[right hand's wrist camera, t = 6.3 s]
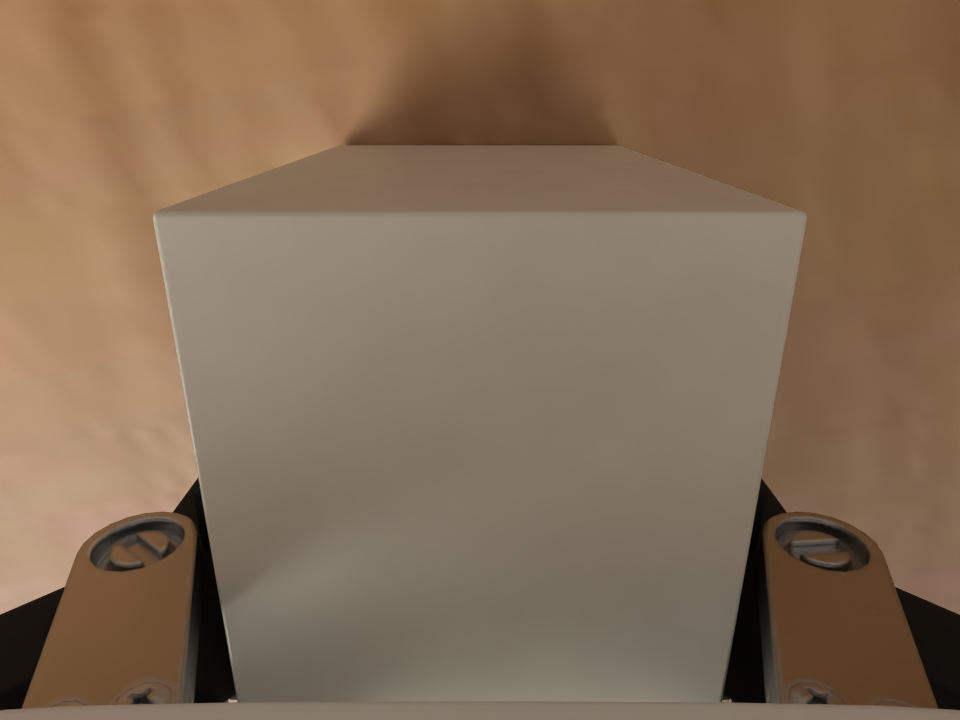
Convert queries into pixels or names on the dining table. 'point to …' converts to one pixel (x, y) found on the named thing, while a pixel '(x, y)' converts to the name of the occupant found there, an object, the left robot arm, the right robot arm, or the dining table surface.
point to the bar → (479, 418)
